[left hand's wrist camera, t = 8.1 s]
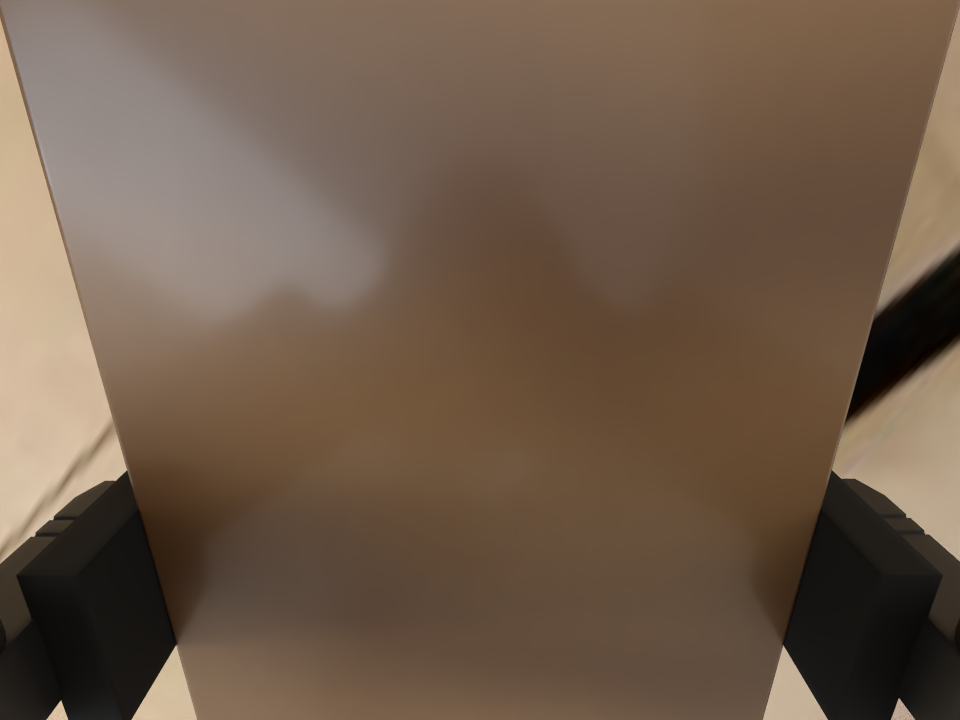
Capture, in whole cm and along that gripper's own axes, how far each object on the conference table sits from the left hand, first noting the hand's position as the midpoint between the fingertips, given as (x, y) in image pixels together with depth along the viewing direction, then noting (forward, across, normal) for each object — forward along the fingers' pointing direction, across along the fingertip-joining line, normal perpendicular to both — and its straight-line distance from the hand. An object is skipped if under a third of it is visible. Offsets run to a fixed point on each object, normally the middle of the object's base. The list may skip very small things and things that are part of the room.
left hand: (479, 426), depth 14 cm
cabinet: (+3, 0, -6) cm, 7 cm away
